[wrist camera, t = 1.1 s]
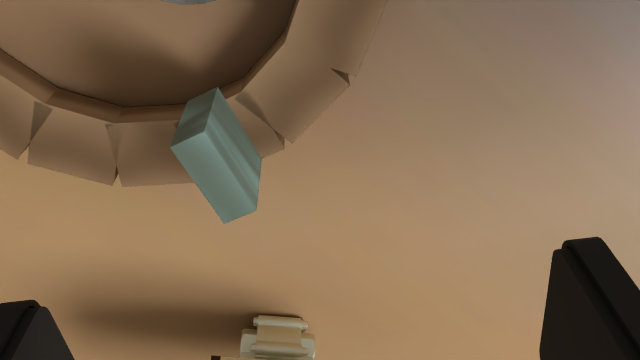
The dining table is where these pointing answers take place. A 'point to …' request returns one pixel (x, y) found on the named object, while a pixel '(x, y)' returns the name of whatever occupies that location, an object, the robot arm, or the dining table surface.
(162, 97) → the dining table surface
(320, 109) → the ring
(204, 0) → the cover
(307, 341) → the pneumatic valve
